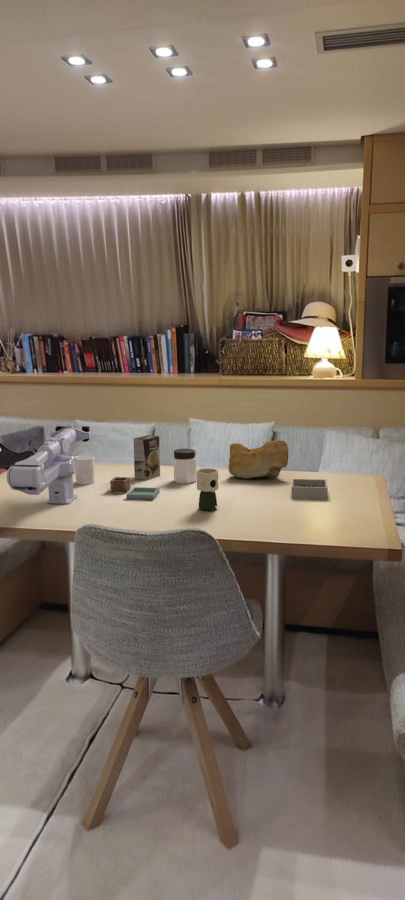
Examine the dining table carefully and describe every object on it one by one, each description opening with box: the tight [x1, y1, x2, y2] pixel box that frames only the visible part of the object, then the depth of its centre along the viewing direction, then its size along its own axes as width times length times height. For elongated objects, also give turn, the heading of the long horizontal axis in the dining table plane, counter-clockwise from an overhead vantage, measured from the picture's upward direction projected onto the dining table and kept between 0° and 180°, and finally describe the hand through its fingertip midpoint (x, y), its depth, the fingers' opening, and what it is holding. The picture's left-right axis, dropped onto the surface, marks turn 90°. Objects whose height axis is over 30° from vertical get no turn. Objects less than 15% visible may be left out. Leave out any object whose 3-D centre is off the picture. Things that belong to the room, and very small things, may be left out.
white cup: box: [74, 454, 95, 486], centre depth 239 cm, size 8×8×10 cm
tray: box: [125, 486, 161, 501], centre depth 220 cm, size 10×10×2 cm
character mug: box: [196, 467, 219, 511], centre depth 203 cm, size 11×7×13 cm, turn 153°
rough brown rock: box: [228, 440, 290, 479], centre depth 245 cm, size 23×17×15 cm
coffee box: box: [133, 434, 161, 481], centre depth 246 cm, size 9×6×16 cm
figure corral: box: [290, 478, 329, 500], centre depth 219 cm, size 11×12×4 cm
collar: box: [110, 476, 132, 494], centre depth 227 cm, size 6×6×4 cm
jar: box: [173, 448, 197, 484], centre depth 239 cm, size 9×8×12 cm
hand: (78, 428), depth 232 cm, fingers open, 7 cm apart
